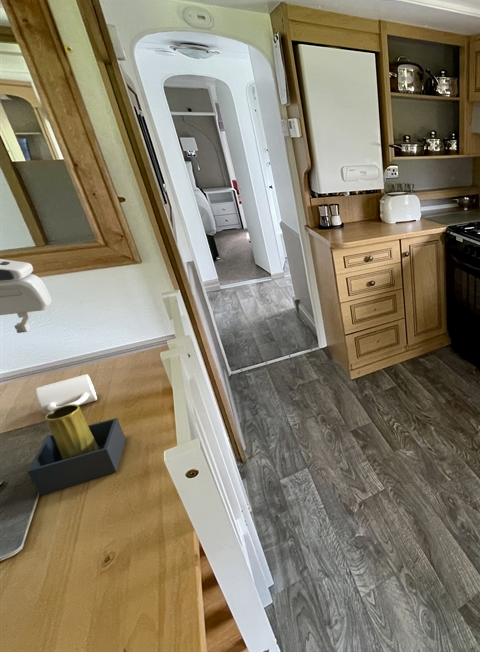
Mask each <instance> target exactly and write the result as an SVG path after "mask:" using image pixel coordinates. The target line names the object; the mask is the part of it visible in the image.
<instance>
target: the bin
mask: <svg viewBox="0 0 480 652" xmlns="http://www.w3.org/2000/svg"><path fill="white" fill-rule="evenodd" d="M87 425H88V427H89V429H90V431H91V433H92V435H93V437H94V439H95V441H96V443H97V445H98V447H99V449H100V450H97V451H93V452H90V453H86V454H82V455H79V456H75V457H72V458H68V459H65V460H63V459H62V456H61V454H60V451H59V449H58V446H57V443H56V440H55V438H54V436H53V434H52V433H51V434H48V435H47V436H46V437H45V439H44V440H43V442H42V444H41V445H40V448H39V449H38V451H37V453H36V455H35V456H34V459H33V460H32V462H31V464H30V466H29V467H28V468H27V471H26V474H27V475H28V477H29V479H30V480H31V482H32V484H33V486H34V488H35V490H36V491H37V493H38V495H39V496H44V495H47V494H49V493H53V492H56V491H59V490H62V489H65V488H68V487H69V488H70V487H73V486H76V485H79V484H82V483H85V482H88V481H91V480H95V479H98V478H100V477H104V476H107V475H111V474H115V473H116V472H117V471H118V467H119V464H120V460H121V457H122V453H123V450H124V447H125V444H126V437H125V433H124V431H123V429H122V425H121V423H120V421H119V419H118V417H115V418H110V419H107V420H103V421H99V422H94V423H91V424H87Z"/></svg>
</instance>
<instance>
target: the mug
mask: <svg viewBox="0 0 480 652" xmlns="http://www.w3.org/2000/svg"><path fill="white" fill-rule="evenodd" d="M35 394H36V399H37V401H38V404H39V406H40V408H41V410H42V412H43V414H44V415H45V416H46V415H47V414H48V413H49V412H50V411H52V410H54V409H56V408H59V407H61V406H65V405H71V404H75V405H78V406H79V407H80V406H82V405H86V404H89V403H92V402H96V401H97V400H98V397H97V393H96V390H95V387H94V384H93V382H92V379H91V377H90V376H89V374H88V373H86V374H82V375H78V376H75V377H71V378H67V379H64V380H60V381H55V382H53V383H49V384H46V385H45V384H44V385H42V386H38V387H37V388H35Z"/></svg>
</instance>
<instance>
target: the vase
mask: <svg viewBox="0 0 480 652" xmlns="http://www.w3.org/2000/svg"><path fill="white" fill-rule="evenodd" d="M44 420H45V422H46V424H47V426H48V428H49V430H50V432H51V435H52V434H53V436H54V438H55V440H56V443H57V446H58V449H59V451H60V454H61V456H62V459H63V460H65V459H68V458H72V457H75V456H79V455H82V454H86V453H90V452H93V451H97V450H100V449H99V447H98V445H97V443H96V441H95V439H94V437H93V435H92V433H91V431H90V429H89V427H88V425H89V424H88V422H87V420H86V418H85V416H84V414H83V411H82V410H81V407H80V406H78V405H75V404H71V405H65V406H61V407H59V408H56V409H54V410H52V411H50V412H49V413H48V414H47V415H45V416H44Z"/></svg>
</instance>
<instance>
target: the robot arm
mask: <svg viewBox="0 0 480 652" xmlns="http://www.w3.org/2000/svg"><path fill="white" fill-rule="evenodd" d="M33 271H34V267H33V265H32V264H31V263H30V262H26V261H17V260H9V259H3V258H0V316H5V315H6V316H7V315H14V314H17V316H18V317H17V318H19V319H20V318H22V319H21V322H17V323H16V324H15V325H14V329H15V330H16V333H17V334H22V333H28V332H29V331H30V330H31V327H30V324H29V321H30V319H31V317H32V314H33V312H41V311H45V310H46V309H48V308H49V307H50V306H51V304H52V303H53V299H52V297H51V294H50V291H49V290H48V288H47V286H46V285H45V282H44V281H43V279H41V278H40V276H38V275H35V274H33Z"/></svg>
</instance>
